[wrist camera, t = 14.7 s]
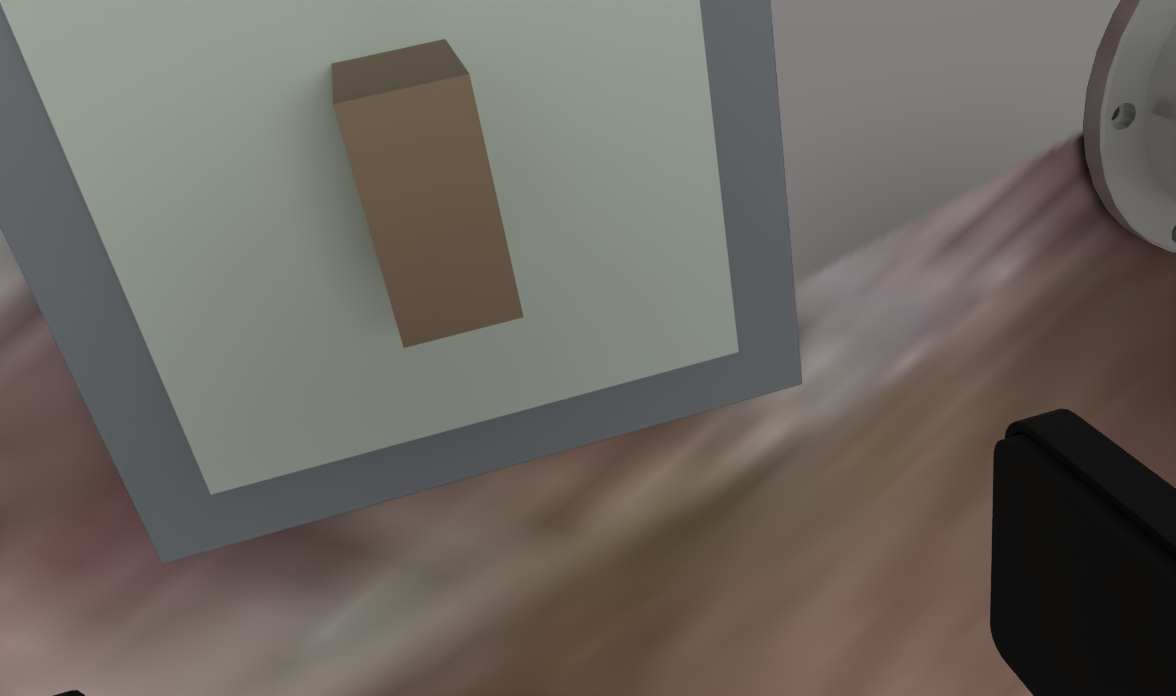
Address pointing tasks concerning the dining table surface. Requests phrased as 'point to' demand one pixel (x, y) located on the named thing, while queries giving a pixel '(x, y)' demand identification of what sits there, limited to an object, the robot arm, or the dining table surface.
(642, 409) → the mat
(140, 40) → the lid
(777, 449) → the dining table surface
